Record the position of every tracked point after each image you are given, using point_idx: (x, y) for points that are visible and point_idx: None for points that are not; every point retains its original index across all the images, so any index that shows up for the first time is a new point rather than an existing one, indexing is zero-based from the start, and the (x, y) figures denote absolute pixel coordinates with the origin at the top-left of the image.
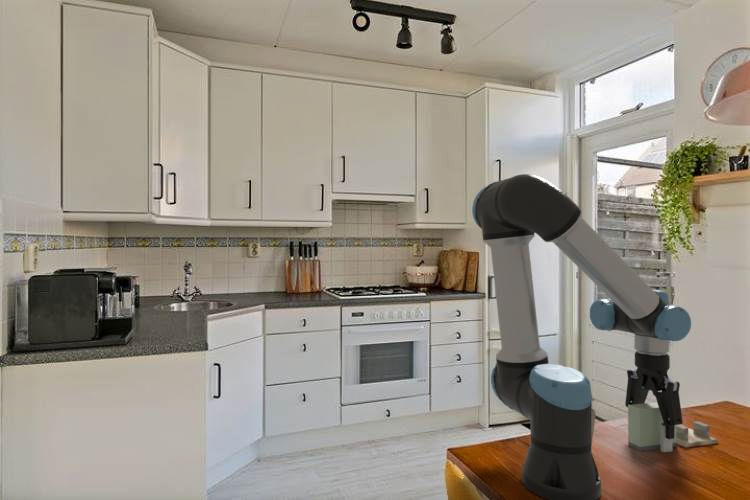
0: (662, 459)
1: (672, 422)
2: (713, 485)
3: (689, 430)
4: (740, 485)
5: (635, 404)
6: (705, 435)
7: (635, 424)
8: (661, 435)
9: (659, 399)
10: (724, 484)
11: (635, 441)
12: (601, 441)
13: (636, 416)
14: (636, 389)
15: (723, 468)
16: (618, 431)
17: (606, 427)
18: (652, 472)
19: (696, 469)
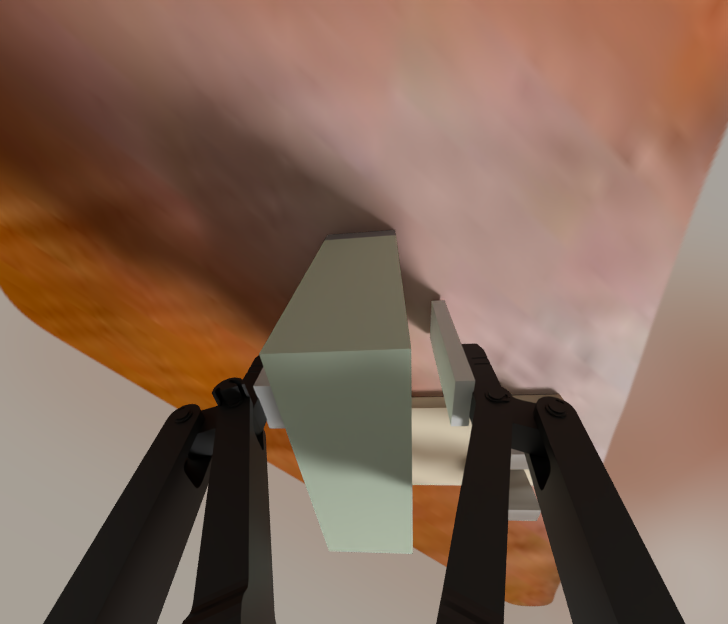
0: (240, 263)
1: (175, 416)
2: (39, 271)
3: (425, 475)
4: (72, 342)
5: (407, 411)
6: None
7: (336, 280)
8: None
9: (208, 560)
10: (62, 308)
11: (349, 243)
12: (478, 112)
13: (315, 310)
14: (572, 593)
15: (187, 382)
16: (542, 298)
17: (610, 279)
18: (88, 112)
19: (165, 311)
